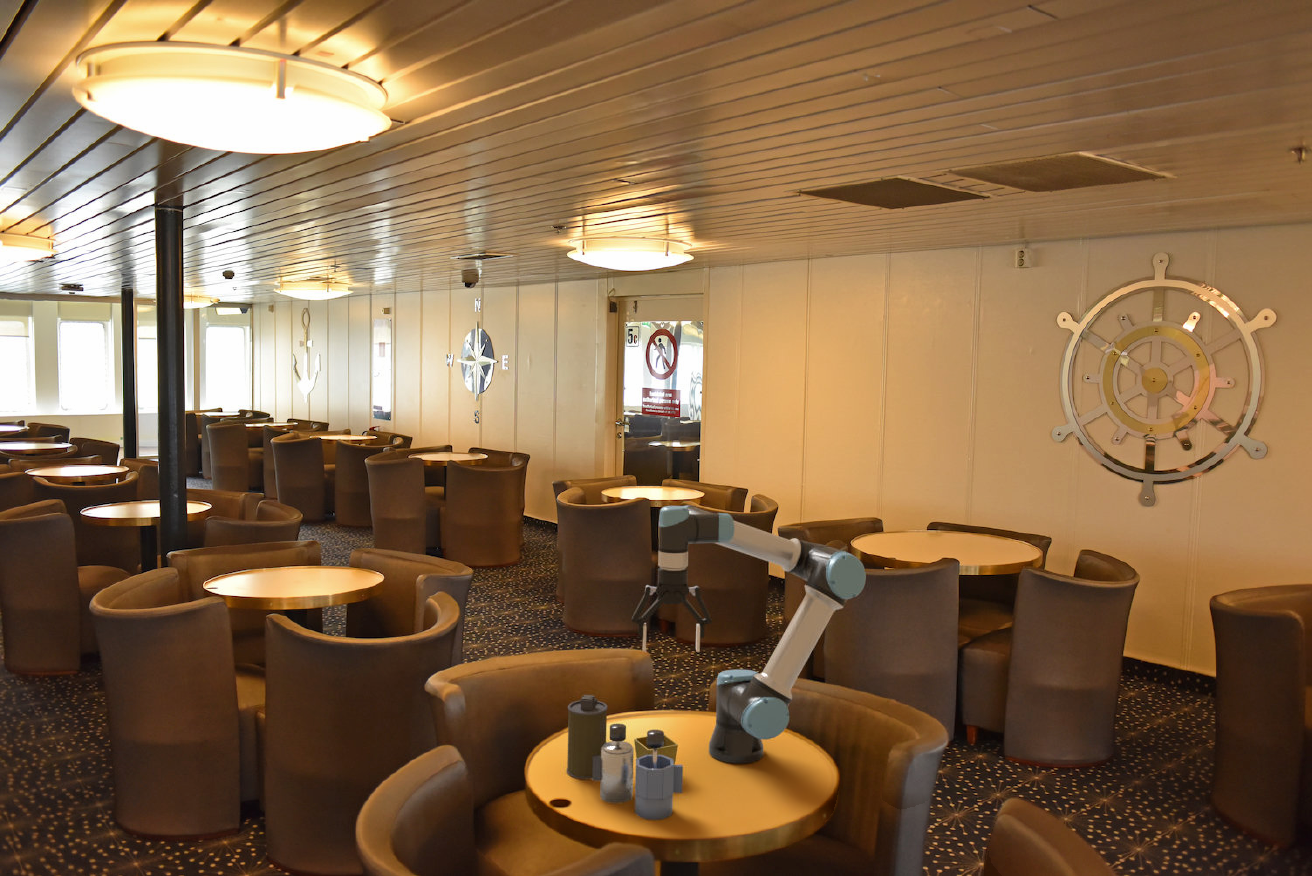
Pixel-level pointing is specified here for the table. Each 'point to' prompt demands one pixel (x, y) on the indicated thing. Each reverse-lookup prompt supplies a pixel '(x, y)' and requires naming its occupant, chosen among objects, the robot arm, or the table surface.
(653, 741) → the plunger
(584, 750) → the canister
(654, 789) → the blue mug
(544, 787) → the table surface
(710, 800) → the table surface
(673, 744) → the flower pot
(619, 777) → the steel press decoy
